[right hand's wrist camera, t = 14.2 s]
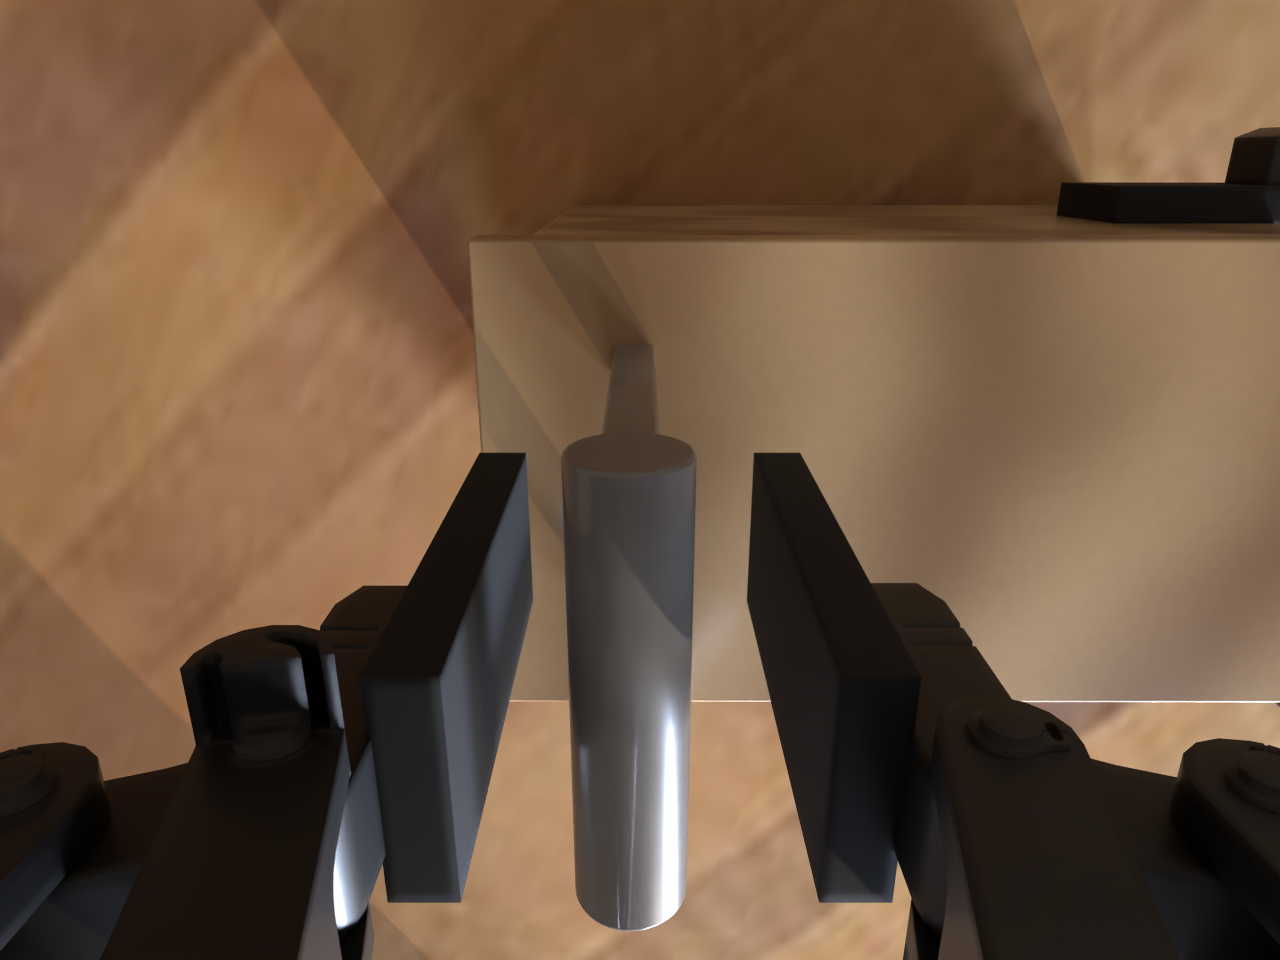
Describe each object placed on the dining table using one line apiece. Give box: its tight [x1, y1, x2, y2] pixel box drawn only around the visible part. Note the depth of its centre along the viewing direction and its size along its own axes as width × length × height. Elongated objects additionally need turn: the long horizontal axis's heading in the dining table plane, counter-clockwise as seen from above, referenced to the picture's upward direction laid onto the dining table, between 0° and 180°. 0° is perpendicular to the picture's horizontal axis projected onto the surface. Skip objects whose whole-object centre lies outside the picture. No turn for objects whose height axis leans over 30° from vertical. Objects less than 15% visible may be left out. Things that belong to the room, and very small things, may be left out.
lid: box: [467, 235, 1280, 931], centre depth 13 cm, size 16×9×8 cm, turn 90°
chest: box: [532, 205, 1280, 235], centre depth 22 cm, size 15×9×10 cm, turn 90°
